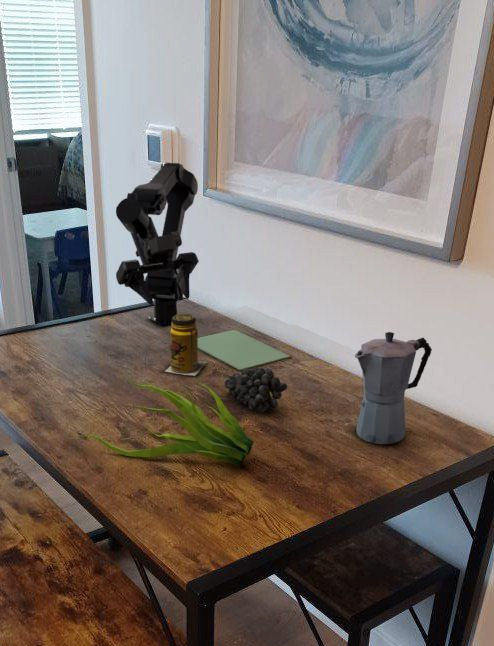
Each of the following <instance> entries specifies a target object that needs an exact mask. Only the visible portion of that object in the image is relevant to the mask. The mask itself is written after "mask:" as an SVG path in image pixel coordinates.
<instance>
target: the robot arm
mask: <svg viewBox="0 0 494 646" xmlns="http://www.w3.org/2000/svg"><path fill="white" fill-rule="evenodd" d="M198 190H199V183H198V180H197V178H196V176H195V174H194V173H193V172H191V171H189V170H188V169H186V168H185V167H184V165H183V164H182V163H180V162H166V161H165V162H164V163H161V164H160V168H159V170H158V171H157V172H156V173H155V174H154V176H153V177H152V178H151V179H150V181H148V182H147V183H144V184H139V185H137V186H135V187H133V190H132V192H128V193H127V196H126V197H125V198H123V199H122V200H121V201H119V203H118V204H117V206H116V208H115V214H116V215H115V216H116V218H117V219H118V221H119V222H120V223H121V224H122V226H123V227H124V228H125V230H126V231H127V232H129V233H130V235H131V238H132V241H133V243H134V245H135V248H136V249H135V256H136V259H129V260H122V261H121V262H120V264H119V267H118V269H117V271H116V273H115V279H116V281H117V284H118V285H119V286H120V285H122V286H123V285H124V287H126V288H130V289H131V290H132V291H133V292H135V293H136V294H137V295H139V297H141V298H142V299H143V300H144V301H145V302H146V303H147V304H149V305H150V306H152V305H153V316H152V317H148V318H149V321H151V322H153V323H155V324H157V325H158V326H160V327H164V326H168V325H172V317H173V316H175V315H178V306H177V305H178V304H177V303H178V302H179V301H183V300H184V298H185V299H186V300H188V299H189V298H190V295H191V294H190V276H191V274H192V273H193V272H194V270H195V269H196V267H197V265H198V264H199V262H200V260H199V258H198V256H197V254H196V253H195V252H193V251H191V252H182V253H178V251H179V247H181V246H183V245H182V244H183V241H182V236H181V235H182V230H183V225H184V220H185V213H186V212H187V211H188V210H189V208H190V207H192V205H193V204H194V200H195V196H196V195H197V194H198ZM166 205H167V207H166ZM165 209H166V212H165V218H164V222H163V223H164V224H163V229H162V233H161V235H159V234H158V230H157V228H156V226H155V223H154V220H153V219H152V216H161V215H162V214H163V212H164V211H165ZM138 257H139V259H140V261H141V263H140V261H139V259H137V258H138ZM145 275H146V276H145Z"/></svg>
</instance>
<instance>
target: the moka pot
mask: <svg viewBox="0 0 494 646" xmlns="http://www.w3.org/2000/svg"><path fill="white" fill-rule="evenodd" d="M384 333H385V334H384V337H385V338H374V339H371V340H369V341H366V342H364V343H362V344H361V345H360V348H361V349H359V350H358V351H357V352H356V353H355V354H354V358H355V359H356V360H358V363H359V366H360V368H361V372H362V384H363V397H362V401H361V406H360V410H359V415H358V421H357V424H356V429H355V430H356V434H357V436H358V437H359V438H360V439H361V440H363V441H365V442H368V443H371V444H374V445H392V444H395V443H399V442H400V441H402V440H403V439H404V438H405V436H406V432H407V431H406V429H407V428H406V413H405V412H406V407H405V394H406V390H409V389H414V388H416V387H418V385H419V382H420V380H421V378H422V376H423V375H422V374H423V373H424V370H425V367H426V366H427V363H428V360H429V357H430V356H431V354H432V351H433V350H432V347H431V346H430V343H429V342H427V339H425V337H420V338H418V339H416V340H415V339H409V340H406V341H404V340H400V339H397V338H394V336H395V333H394V332H393V331H387V332H384ZM420 349H423V350H424V353H423V355H422V356H421V359H420V364H419V367H418V369H417V372H416V375H415V377H414V379H413V380H412V382H410V380H411V379H410V378H411V374H412V370H413V367H414V362H415V358H416V355H417V351H419V350H420Z"/></svg>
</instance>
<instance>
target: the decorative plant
mask: <svg viewBox="0 0 494 646" xmlns="http://www.w3.org/2000/svg"><path fill="white" fill-rule="evenodd" d="M117 368H118V369H119V371H120V372H121V373H122V374H123V375H124V376H125V378H127V380H128V381H130V383H131V384H132V385H134V386H136V387H139V388H142V389H147V390H152V391H154V392H156V393H157V394H160V395H163V396H164V397H165V398H166V399H167V400H168V401H170V403H172V405H174V406H175V407H176V408H177V409H178V410H179V411H180V412H181V414H182V415H183V417H184V418H183V417H181V416H179V415H178V414H177V413H174V412H173V411H172V410H170V409H164V408H163V409H162V408H153V407H145V406H139V405H134V404H129V403H125V402H122V401H119V403H120V404H123V405H128V406H131V407H135V408H138V409H142V410H146V411H150V412H155V413H159V414H167V415H168V416H170V417H171V418H173V420H174V421H176V422H177V423H178V424H179V425H180V426H181V427H182V428H184V429H185V430H186V431H187V432H188V434H189V435H183V434H173V433H172V434H171V433H163V434H157V433H156V432H153V431H152V430H150V429H149V428H148V427H147V426H145V424H143V427H144V428H146V429H147V430H148V431H150V432H151V433H152V434H153V435H155V436H156V437H158V438H165V439H167V440H170V441H173V442H174V443H170V444H165V445H161V446H156V447H153V448H145V449H137V450H135V449H134V450H126V449H123V448H121V447H117V446H114V445H112V444H110V443H109V442H107V441H106V440H104V439H102V438H101V437H99V436H96V435H92V434H83V435H82V434H80V435H74V436H70V437H67V438H66V440H68V439H71V438H75V437H90V438H93V439H96V440H98V441H99V442H100V443H102V444H103V445H104V446H105V447H106V448H107V449H109V450H111V451H114V452H115V453H118V454H121V455H123V456H125V457H126V456H127V457H135V458H136V457H137V458H150V459H151V458H152V459H153V458H160V457H165V456H170V455H171V456H172V455H181V454H183V455H184V454H199V455H202V456H205V457H208V458H211V459H213V460H216V461H220V462H225V463H229V464H232V465H234V466H236V467H242V465H243V463H244V462H245V460H246V458H247V456H248V455H250V453H251V451H252V450H253V445H254V440H252V439H251V438H250V437H249V436H248V435H247V434H246V433H245V431H244V430H243V428H242V427H241V426H240V424H239V423H238V421H237V419H236V417H235V416H234V415H232V414H231V413H230V411H229V410H228V408H227V407H226V405H225V404H224V402H223V401H222V400H221V398H220V397H219V395H217V394H216V393H215V391H213V390H212V388H210V387H209V386H207V385H205V384H203V383H201V382H199V381H198V380H197V378H195V376H193V377H192V378H193V379H194V380H195V381H196V382H197V383H198V384H199V385H200V386H202V387H204V388H205V389H207V390H208V391H209V393H210V394H211V395H212V396H213V399H214V400H215V403H216V406H217V409H218V411H217V410H216V409H215V408H214V407H211V406H209V405H207V404H205V403H203V405H204V406H206V407H207V408H209V409H212V410H213V412H215V414H216V415H217V416H218V417H219V420H220V422H221V424H222V426H223V427H224V428H225V429H226V430H227V431H226V430H224V429H222V428H220V427H218V426H217V425H216V424H214V423H213V422H212V421H211V420H210V419H209V418H208V417H207V416H206V415H205V413H204V412H203V411H202V410H201V408H200V407H199V406H197V405H196V404H195V402H194V398H193V396H192V395H191V394H190V393H189V392H188V391H186V390H185V389H183V388H181V387H180V386H176V388H179V389H180V390H181V391H183V392H184V393H186V394H187V395H188V396H189V398H190V399H191V400H188V399H187V398H186V397H184V396H182V395H180V394H178V393H176V392H174V391H171V390H169V389H161V388H159V387H156V386H155V385H153V384H151V383H149V382H147V381H146V380H145V379H144V378H142V380H143V381H142V382H143V383H145V384H139V383H137V382H134V381H133V380H131V378H129V376H127V374H125V373H124V372H123V371H122V369H121V368H120V367H119V366H117ZM228 431H229V432H228Z"/></svg>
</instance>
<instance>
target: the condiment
mask: <svg viewBox="0 0 494 646" xmlns="http://www.w3.org/2000/svg"><path fill="white" fill-rule="evenodd" d="M169 333H170V334H169V335H170V337H169V339H170V341H169V342H170V347H169V348H170V365H169V366H168V367H167V368H166V369H165V370H164V372H166V373H170V374H177V375H184V376H193V377H196V375H198V373H199V372H200V371H201V370H202V369H203V367H205V366H206V365H207V363H208V361H199V356H198V354H199V353H198V352H199V351H198V350H199V349H198V338H199V331H198V329H197V318H196V316H194V315H192V314H186V313H181V314H177V315H175V316H173V317H172V324H171V329H170V331H169Z"/></svg>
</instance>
